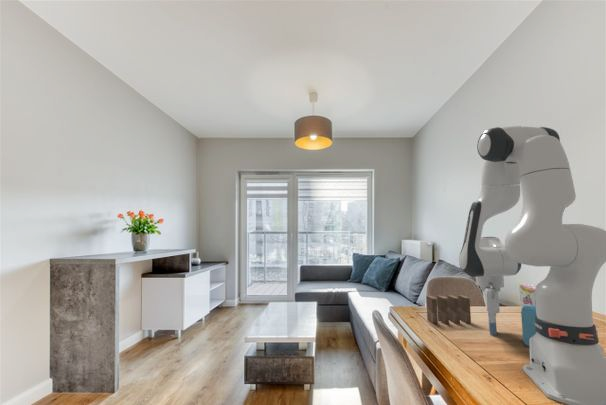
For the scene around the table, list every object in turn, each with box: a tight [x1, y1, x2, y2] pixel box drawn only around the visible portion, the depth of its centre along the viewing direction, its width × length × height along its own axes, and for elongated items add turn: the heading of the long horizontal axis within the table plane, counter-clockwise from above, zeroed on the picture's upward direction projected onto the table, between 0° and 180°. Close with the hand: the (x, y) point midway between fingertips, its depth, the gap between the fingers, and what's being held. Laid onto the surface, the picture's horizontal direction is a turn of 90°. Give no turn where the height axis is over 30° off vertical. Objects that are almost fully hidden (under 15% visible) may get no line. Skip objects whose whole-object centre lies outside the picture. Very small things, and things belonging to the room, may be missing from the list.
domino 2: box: [436, 295, 450, 325], centre depth 123 cm, size 2×5×10 cm, turn 2°
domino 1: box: [425, 295, 439, 325], centre depth 122 cm, size 2×5×10 cm, turn 2°
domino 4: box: [457, 294, 472, 324], centre depth 123 cm, size 2×5×10 cm, turn 2°
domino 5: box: [487, 311, 498, 337], centre depth 109 cm, size 2×5×10 cm, turn 152°
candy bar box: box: [519, 284, 537, 311], centre depth 108 cm, size 11×5×16 cm, turn 168°
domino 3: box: [446, 294, 461, 325], centre depth 123 cm, size 2×5×10 cm, turn 2°
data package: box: [520, 306, 537, 348], centre depth 96 cm, size 12×4×12 cm, turn 52°
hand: (491, 319), depth 109 cm, fingers open, 6 cm apart
